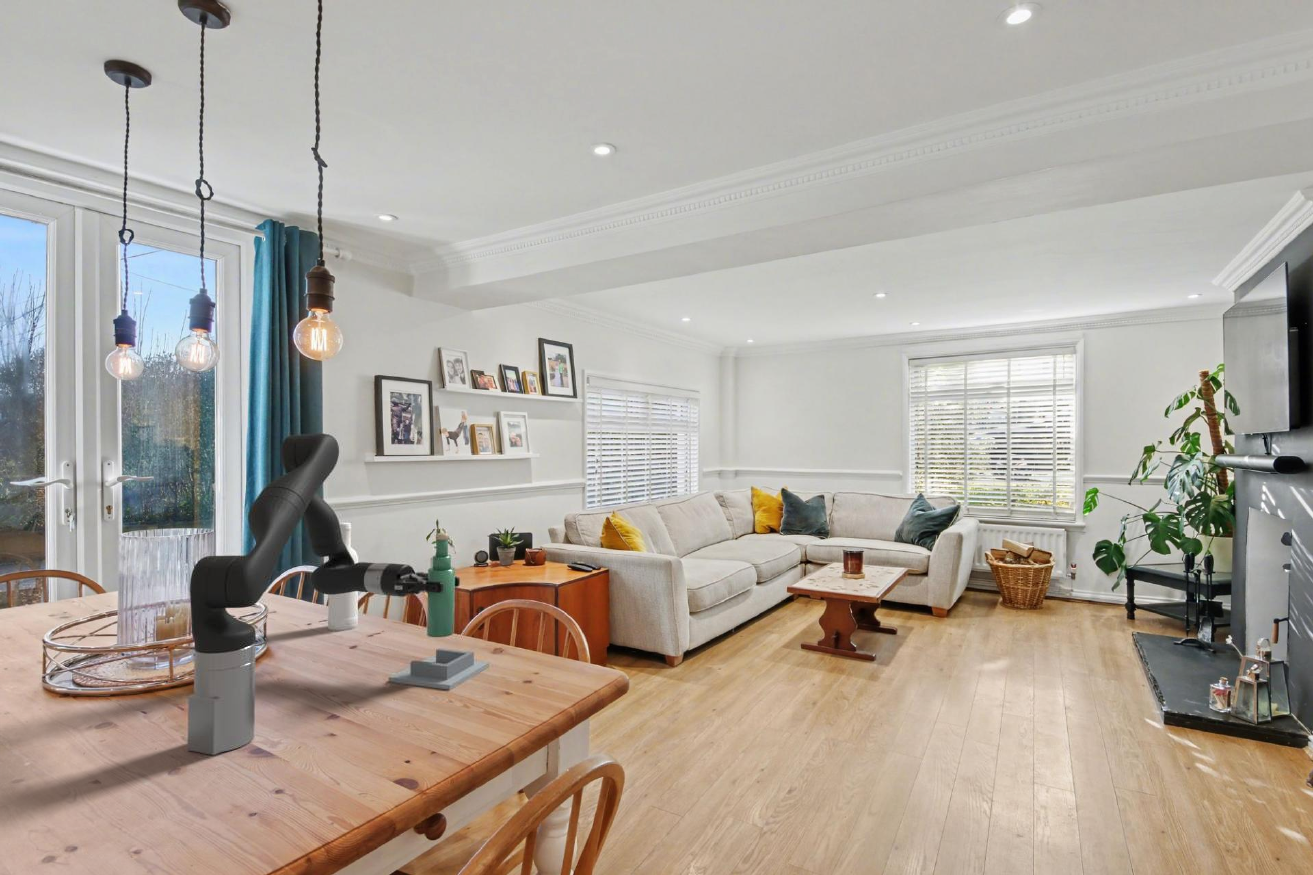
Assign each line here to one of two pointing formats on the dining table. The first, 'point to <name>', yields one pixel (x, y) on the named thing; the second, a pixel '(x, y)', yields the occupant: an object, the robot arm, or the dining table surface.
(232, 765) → the dining table surface
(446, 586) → the bottle
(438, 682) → the bottle rest
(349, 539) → the bottle
